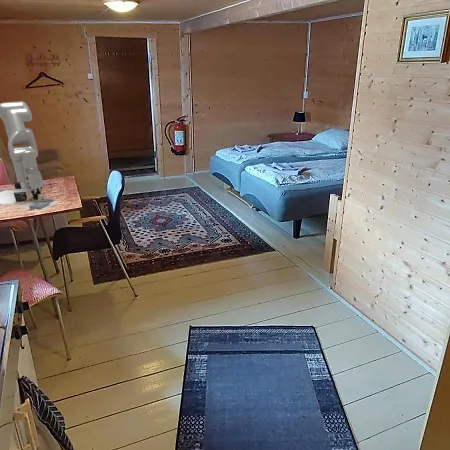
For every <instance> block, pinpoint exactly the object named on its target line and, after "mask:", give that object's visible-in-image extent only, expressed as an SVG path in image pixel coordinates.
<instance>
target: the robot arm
mask: <svg viewBox="0 0 450 450" xmlns="http://www.w3.org/2000/svg"><path fill="white" fill-rule="evenodd" d="M0 119H1V121H2V122H3V125H4V128H5V133H6V135H7V139H8V141H7V149H8V153H9V156H10V159H11V161H12V165H13V168H14V172H15V176H16V180H17V182H16V183H18V182H23V183H25V187H26V188H27V189H28V190H27V191H28V192H29V193H30V192H31V193H32V194H33V199H34V200H38V195H37V194H42V188H43V187H44V186H45V185H44V180H43V176H42V174H41V171H40V170H39V166H38V163H37V157H38V156H39V151H38V147H37V143H36V138H35V135H34V133H33V132H34V131H33V130H32V129H31V128H29V127H28V128H27V127H26V126H25V122H31V121H32V119H33V115H32V111H31V109H30V108H29V105H28V104H27V103H26V102H25V101H21V100H19V101H8V102H7V101H6V102H1V103H0ZM18 144H20V145H18ZM21 144H22V145H21ZM14 145H15V146H14ZM33 199H32V200H33Z"/></svg>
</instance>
